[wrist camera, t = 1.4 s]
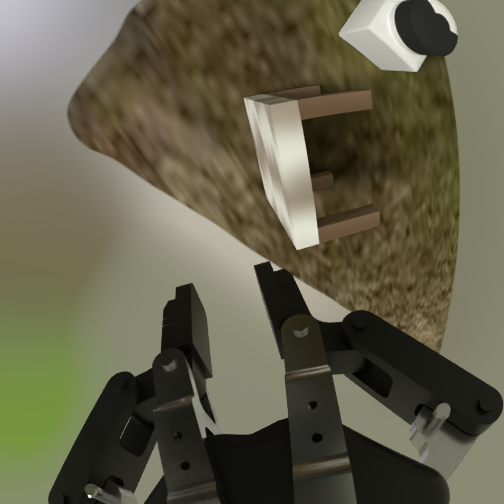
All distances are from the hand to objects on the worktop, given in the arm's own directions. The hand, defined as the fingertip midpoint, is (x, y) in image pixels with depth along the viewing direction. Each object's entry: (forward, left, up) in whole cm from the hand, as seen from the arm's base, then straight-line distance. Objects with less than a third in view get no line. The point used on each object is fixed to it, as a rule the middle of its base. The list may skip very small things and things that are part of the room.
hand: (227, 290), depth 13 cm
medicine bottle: (-12, +23, -22) cm, 34 cm away
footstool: (0, +10, -22) cm, 24 cm away
